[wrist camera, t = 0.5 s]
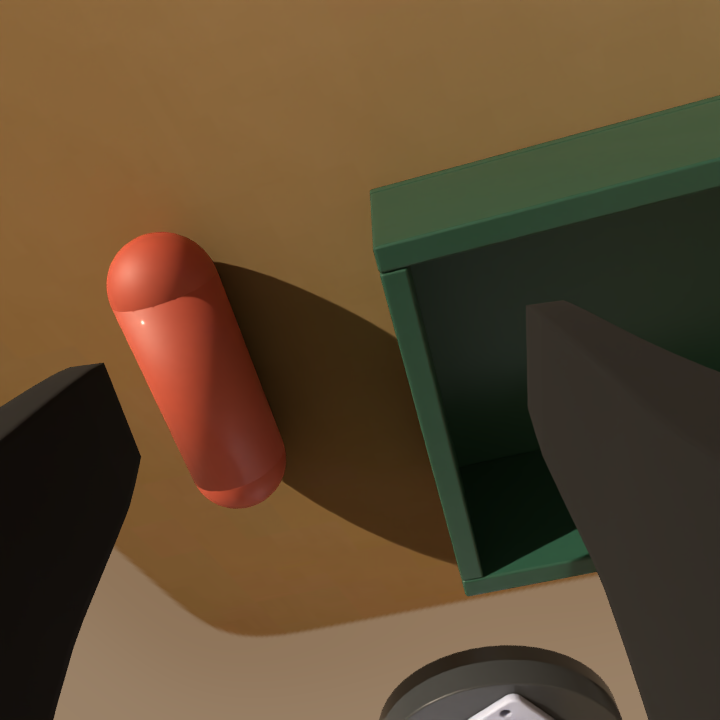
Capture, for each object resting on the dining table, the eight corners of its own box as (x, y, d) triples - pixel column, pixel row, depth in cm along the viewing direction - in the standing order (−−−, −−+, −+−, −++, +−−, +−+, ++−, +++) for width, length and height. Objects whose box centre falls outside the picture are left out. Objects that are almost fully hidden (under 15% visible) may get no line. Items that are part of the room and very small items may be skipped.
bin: (875, 382, 21) (1031, 490, 16) (443, 475, 23) (466, 597, 18) (909, 43, 17) (1140, 48, 12) (369, 189, 18) (372, 248, 13)
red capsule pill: (306, 462, 22) (287, 523, 20) (226, 473, 23) (197, 534, 20) (211, 207, 18) (172, 241, 16) (118, 231, 19) (65, 267, 16)
